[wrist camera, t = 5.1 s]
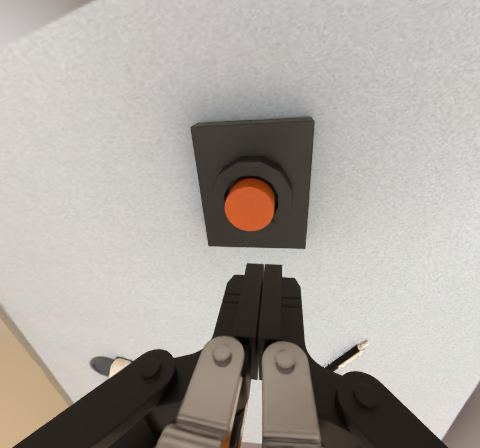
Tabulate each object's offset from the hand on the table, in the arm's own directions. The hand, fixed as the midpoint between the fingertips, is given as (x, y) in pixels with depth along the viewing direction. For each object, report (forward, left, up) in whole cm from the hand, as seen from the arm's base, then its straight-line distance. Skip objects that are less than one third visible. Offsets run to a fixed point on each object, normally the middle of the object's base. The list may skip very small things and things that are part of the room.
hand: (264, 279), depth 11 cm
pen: (+31, +7, -16) cm, 36 cm away
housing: (+1, -2, -15) cm, 15 cm away
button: (+1, -2, -12) cm, 12 cm away
